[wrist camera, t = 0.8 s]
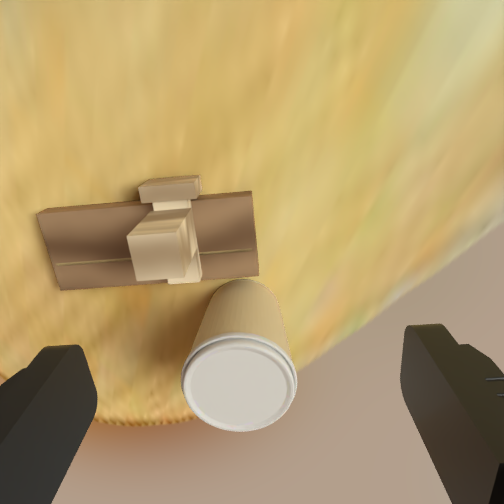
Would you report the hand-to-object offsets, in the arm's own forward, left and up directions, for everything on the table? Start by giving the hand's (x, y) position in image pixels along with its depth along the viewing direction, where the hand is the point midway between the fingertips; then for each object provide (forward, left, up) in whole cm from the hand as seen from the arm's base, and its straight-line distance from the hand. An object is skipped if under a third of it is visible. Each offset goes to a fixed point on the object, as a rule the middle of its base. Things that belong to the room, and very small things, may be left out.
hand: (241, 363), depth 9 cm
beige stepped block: (+5, -7, -27) cm, 28 cm away
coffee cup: (+15, -2, -28) cm, 32 cm away
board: (+6, -10, -27) cm, 30 cm away
